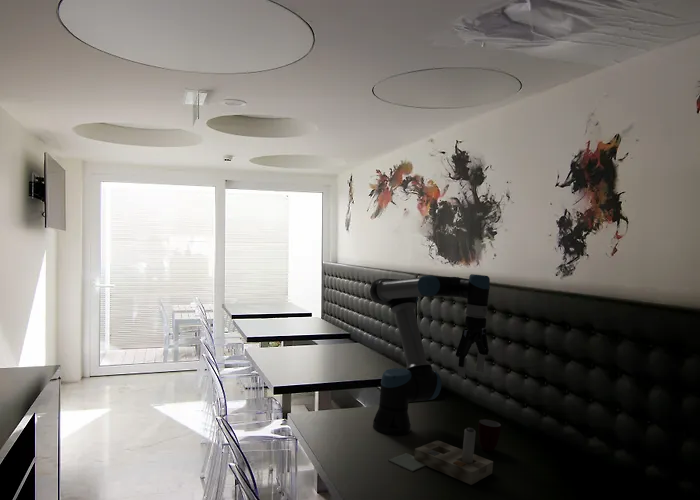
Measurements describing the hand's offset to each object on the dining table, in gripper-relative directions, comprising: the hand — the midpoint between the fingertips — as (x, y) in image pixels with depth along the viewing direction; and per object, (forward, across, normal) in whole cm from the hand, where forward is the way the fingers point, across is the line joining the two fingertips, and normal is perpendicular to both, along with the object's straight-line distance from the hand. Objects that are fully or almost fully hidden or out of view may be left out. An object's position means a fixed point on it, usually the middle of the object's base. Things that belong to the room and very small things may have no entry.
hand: (470, 373), depth 185 cm
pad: (+29, -26, +6) cm, 39 cm away
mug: (+29, +8, -5) cm, 31 cm away
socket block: (+29, -16, -5) cm, 33 cm away
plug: (+29, -16, -10) cm, 34 cm away
